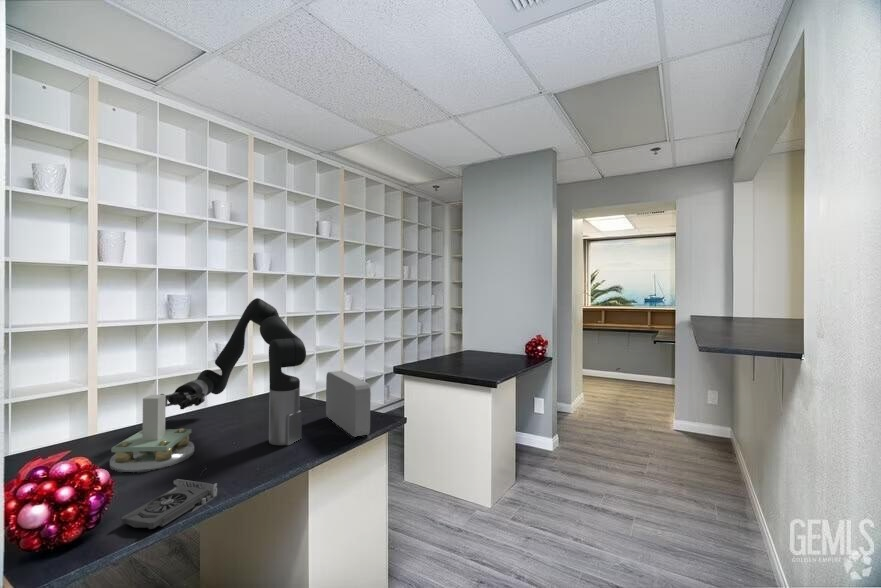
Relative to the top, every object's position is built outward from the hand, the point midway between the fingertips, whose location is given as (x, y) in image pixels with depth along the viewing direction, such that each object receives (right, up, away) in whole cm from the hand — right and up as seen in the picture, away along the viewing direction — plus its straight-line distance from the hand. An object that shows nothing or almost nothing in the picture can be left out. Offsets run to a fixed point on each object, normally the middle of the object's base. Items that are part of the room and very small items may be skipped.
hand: (166, 406), depth 125 cm
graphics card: (+23, -15, -34) cm, 43 cm away
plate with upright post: (+1, -9, -6) cm, 11 cm away
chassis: (+1, -13, -6) cm, 15 cm away
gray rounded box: (+50, -14, +23) cm, 57 cm away
